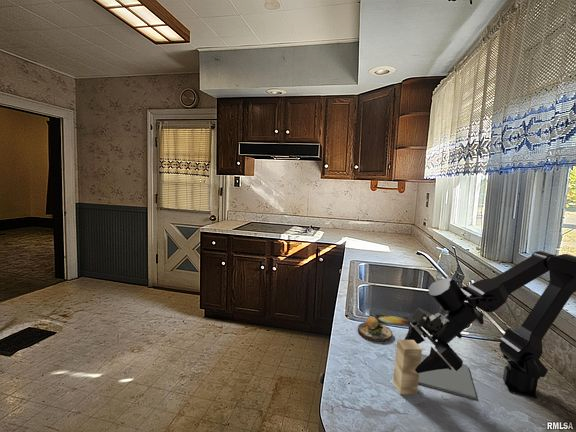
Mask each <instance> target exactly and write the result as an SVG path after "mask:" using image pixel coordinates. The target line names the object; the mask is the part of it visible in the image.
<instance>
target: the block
mask: <svg viewBox="0 0 576 432" xmlns="http://www.w3.org/2000/svg"><path fill="white" fill-rule="evenodd" d="M422 351H423V349H422V348H421V347H420V345H419V344H417V343H416V342H415V341H414V340H404V339H397V340H396V349H395V359H394V367H393V368H394V369H393V380H392V383H393V385H394V386H395V388H396V390H397V392H398V393H399V395H418V388H419V384H418V380H419V373H417V372H416V371H415V369H416V367H417V366H418V365H419V364H420V362H421V354H423V353H422Z"/></svg>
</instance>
